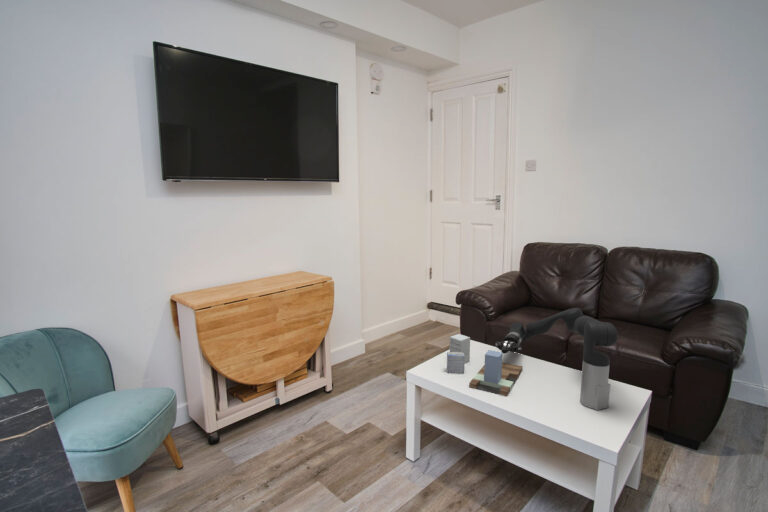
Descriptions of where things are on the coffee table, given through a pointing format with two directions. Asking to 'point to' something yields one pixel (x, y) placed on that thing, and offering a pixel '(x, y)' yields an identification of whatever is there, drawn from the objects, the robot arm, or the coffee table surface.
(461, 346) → the supplement box
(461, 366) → the medicine box
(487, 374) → the block
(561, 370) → the coffee table surface
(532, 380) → the coffee table surface
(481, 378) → the pad
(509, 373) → the deck
